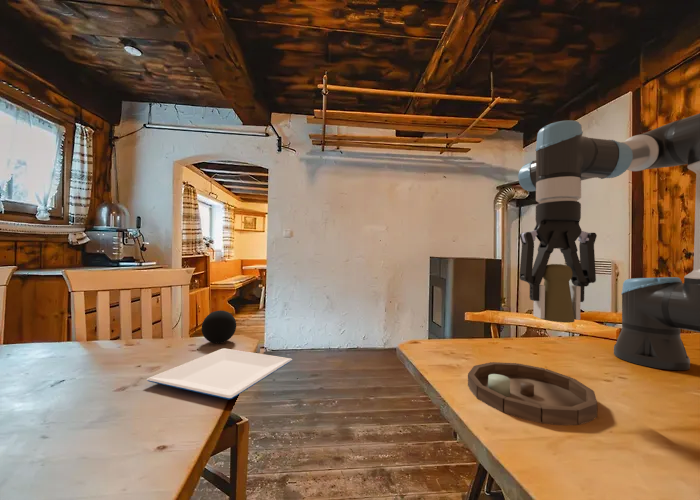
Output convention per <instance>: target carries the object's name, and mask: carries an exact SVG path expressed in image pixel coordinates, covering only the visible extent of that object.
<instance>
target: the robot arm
mask: <svg viewBox="0 0 700 500" xmlns="http://www.w3.org/2000/svg"><path fill="white" fill-rule="evenodd" d="M583 132H584V131H583V130H582V124H581V123H580V122H579V121H578V120H571V119H569V120H560V121H554V122H552V123H549V124H547V125H544V126H543V127H542V128H540V129H539V131H538V132H537V136H536V142H535V143H536V145H535V160H532V161H530V162H529V163H525V164H524V165H523V166H522V167H521V168H520V169H519V171H518V176H517V177H518V183H519V185H520V187H521V188H522V189H523V190H525V191H526V192H535V201H536V202H537V203H538V204H536V205H535V226H534V228H533V230H531V231H527V232H526V231H525V232H520V233H519V238H520V241H521V253H520V266H519V280H520V281H521V282H525V283H528V285H529V300H530V301H533V311H532V312H533V314H532V316H533V317H535V318H538V319H540V320H543V319H545V286H544V284H541V283H542V280H543V275H544V272H545V269H546V266H547V265H548V264H549V263H548V262H549V260H550V257H551V254H552V253H553V252H554V250H556V249H558V250H560V253H561V254H562V255H563V257H564V258H563V259H564V261H565V265H567V266H569V267H570V268H571V269H572V272H573V275H572V278H571V279H570V281H571V284H569V285H570V292H571V299H572V306H573V313H574V320H576V321H580V320H581V303H584V302H585V287H588V286H590V284H591V283H592V284H594V283H596V282H597V273H596V259H595V254H596V253H595V244H596V243H595V242H596V240H597V233H596V232H588V231H584V230H583V229H582V228H581V227H580V221H581V218H582V213H581V212H582V204H581V202H580V201H579V200H581V198H582V181H585V180H589V179H594V178H596V179H597V178H598V179H600V180H603V179H613V178H617V177H619V176H621V175H622V174H624V173H625V172H627V171H630V172H640V171H644V170H652V169H660V168H661V169H662V168H669V167H677V166H684V165H686V166H687V169H688V170H690V171H691V172H693V173H694V174H696V175H695V177H696V178H695V203H694V204H695V205H694V206H695V207H694V212H695V213H694V239H693V241H694V243H693V246H694V247H693V270H692V271H690V272H689V273H688V274H686V275H684V279H683V280H682V279H681V278H680V277H678V276H677V277H673V276H672V277H671V276H667V277H664V276H663V277H636V278H635V277H634V278H627V279H625V280H624V281H623V283H622V291H621V331H620V333H619V335H618V337H617V339H616V342H615V344H614V346H613V355H614V356H615V357H617V358H618V359H621V360H623V361H626V362H629V363H631V364H636V365H640V366H645V367H649V368H655V369H661V370H662V369H663V370H666V371H667V370H668V371H669V370H670V371H686V370H690V368H691V358H690V357H689V355H688V353H687V351H686V348H685V345H684V342H683V340H682V337H681V330H685V331H691V332H697V333H700V113H695V114H694V115H690V116H688V117H685V118H682V119H681V118H680V119H677V120H674V121H671V122H669V123H666V124H665V125H662V126H659V127H657V128H654V129H652V130H649V131H646V132H643V133H641V134H636V135H633V136H630V137H628V138H626V139H625V140H624V141H617V140H614V139H605V138H604V139H603V138H593V137H588V136H584V135H583ZM536 238H537V240H538V241H539V244H538V247H537V254H536V258H535V261H534V252H535V241H536ZM577 240H578V242H579V244H578V245H579V255H578V247H577V244H576V241H577Z"/></svg>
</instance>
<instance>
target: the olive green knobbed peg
mask: <svg viewBox="0 0 700 500" xmlns="http://www.w3.org/2000/svg"><path fill="white" fill-rule="evenodd" d="M572 275H573V272H572V269H571V268H570V267H569V266H567V265H566V264H561V263H559V264H558V263H550V264H549V263H548V264H547V266H546V269H545V272H544V275H543V278H542V280H544V282H543V285H544V286H545V319H542V320H543V321H550V322H555V323H567V324H568V323H575V320H576V319H574V313H573V306H572V299H571V292H570V285H571V284H570V281H571V278H572Z"/></svg>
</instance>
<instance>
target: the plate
mask: <svg viewBox="0 0 700 500" xmlns="http://www.w3.org/2000/svg"><path fill="white" fill-rule="evenodd" d="M292 361H293V359H292V358H290V357H284V356H283V357H282V356H276V355H270V354H265V353H258V352H257V353H256V352H253V351H251V352H250V351H244V350H238V349H232V348H231V349H230V348H225V347H224V348H221V349H220V348H219V349H218V350H215V351H213V352H210V353H208V354H205V355H202V356H200V357H197V358H195V359H192V360H190V361H187V362H184V363H182V364H181V365H178V366H175V367H172V368H169V369H167V370H165V371H162V372H160V373H157V374H155V375H152V376H150V377H148V378H146V381H147V382H150V383H153V384H158V385H162V386H163V385H164V386H167V387H171V388H176V389H180V390H186V391H189V392H190V391H191V392H194V393H199V394H202V395H208V396H210V397H211V396H212V397H215V398H216V397H217V398H221V399H225V400H232V399H234V398H236V397H237V396H239V395H240V394H242V393H243V392H245V391H247V390H248V389H250V388H251V387H253V386H255V385H256V384H257V383H259V382H261V381H262V380H264V379H266V378H267V377H269V376H270V375H272V374H274V373H275V372H276V371H278V370H279V369H281V368H283V367H284V366H286V365H288V364H290V363H291V362H292Z"/></svg>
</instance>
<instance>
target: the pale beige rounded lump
mask: <svg viewBox="0 0 700 500" xmlns="http://www.w3.org/2000/svg"><path fill="white" fill-rule="evenodd" d="M488 388H489V389H491V390H493V391H495V392H497V393H499V394H502V395H504V396H506V397H509V396H510V379H509V378H508V377H506V376H504V375H499V374H490V375H488Z"/></svg>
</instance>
